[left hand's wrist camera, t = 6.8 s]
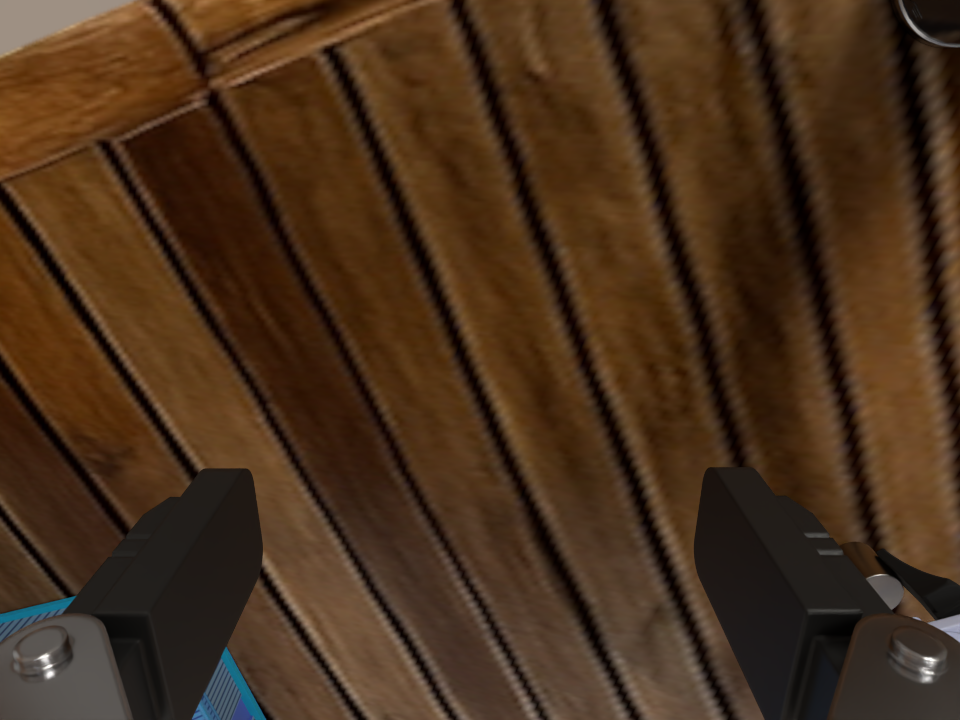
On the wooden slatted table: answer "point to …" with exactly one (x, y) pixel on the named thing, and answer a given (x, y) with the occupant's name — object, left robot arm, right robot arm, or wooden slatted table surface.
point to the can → (875, 572)
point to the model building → (226, 701)
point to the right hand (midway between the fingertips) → (859, 572)
